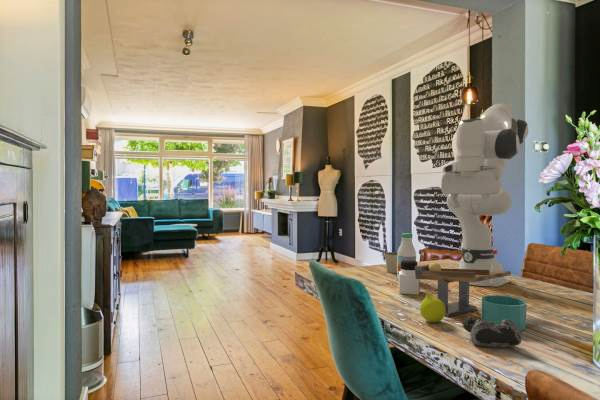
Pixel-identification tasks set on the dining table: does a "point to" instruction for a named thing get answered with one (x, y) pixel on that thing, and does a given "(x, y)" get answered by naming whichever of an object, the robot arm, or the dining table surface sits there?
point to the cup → (504, 310)
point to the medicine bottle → (408, 278)
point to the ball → (434, 267)
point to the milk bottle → (405, 251)
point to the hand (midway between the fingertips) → (468, 208)
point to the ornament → (432, 308)
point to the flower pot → (391, 261)
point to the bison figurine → (493, 333)
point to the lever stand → (456, 306)
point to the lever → (457, 274)
